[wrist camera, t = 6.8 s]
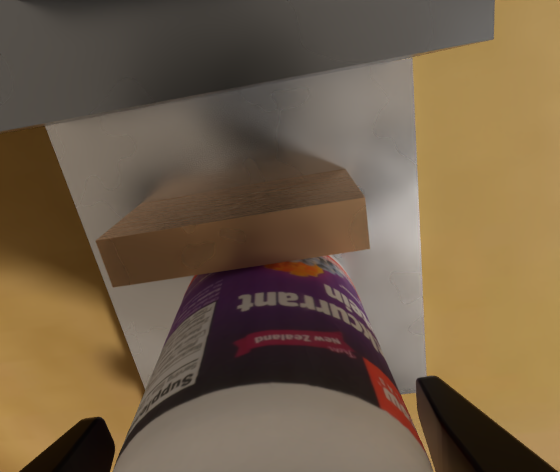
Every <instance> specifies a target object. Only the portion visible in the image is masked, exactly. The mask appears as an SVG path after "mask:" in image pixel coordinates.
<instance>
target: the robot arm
mask: <svg viewBox="0 0 560 472" xmlns="http://www.w3.org/2000/svg"><path fill="white" fill-rule="evenodd" d="M416 397H417V410H418V415H419V419H420V422H421V426H422V429H423V432H424V435H425V438H426V442H427V445H428V448H429V451H430V454H431V458H432V461H433V464H434V467H435V471H436V472H558V471H557V470H555V469H554V468H553V467H552V466H550V465H549V464H548V463H547V462H545V461H544V460H543V459H542V458H540V457H539V456H538V455H536V454H535V453H534V452H533V451H531V450H530V449H529V448H528V447H526V446H525V445H524V444H522V443H521V442H520V441H519V440H517V439H516V438H515V437H514V436H512V435H511V434H510V433H509V432H507V431H506V430H505V429H503V428H502V427H501V426H500V425H498V424H497V423H496V422H495V421H493V420H492V419H491V418H489V417H488V416H487V415H486V414H484V413H483V412H482V411H481V410H479V409H478V408H477V407H476V406H474V405H473V404H472V403H470V402H469V401H468V400H467V399H465V398H464V397H463V396H462V395H460V394H459V393H458V392H456V391H455V390H454V389H453V388H451V387H450V386H449V385H448V384H446V383H445V382H444V381H443V380H441V379H440V378H439V377H437V376H425V377H419V378H417V379H416ZM114 454H115V444H114V441H113V439H112V436H111V434H110V432H109V429H108V427H107V425H106V423H105V421H104V419H103V418H101V417H92V418H85V419H82V420H81V421H79V422H78V423H77V424H76V425H74V426H73V427H72V428H71V429H70V430H68V431H67V432H66V433H65V434H64V435H62V436H61V437H60V438H59V439H58V440H56V441H55V442H54V443H53V444H52V445H50V446H49V447H48V448H47V449H46V450H44V451H43V452H42V453H41V454H40V455H38V456H37V457H36V458H35V459H34V460H32V461H31V462H30V463H29V464H28V465H26V466H25V467H24V468H23V469H22V470H20V471H19V472H110V470H111V466H112V462H113V458H114Z"/></svg>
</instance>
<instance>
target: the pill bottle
mask: <svg viewBox="0 0 560 472" xmlns="http://www.w3.org/2000/svg"><path fill="white" fill-rule="evenodd" d="M113 472H433V470H432V466H431V463H430V461H429V458H428V456H427V454H426V451H425V449H424V447H423V444H422V442H421V440H420V438H419V436H418V433H417V431H416V428H415V426H414V424H413V422H412V420H411V417H410V415H409V413H408V410H407V408H406V406H405V404H404V401H403V399H402V397H401V394H400V392H399V390H398V387H397V385H396V383H395V380H394V378H393V376H392V373H391V371H390V369H389V366H388V364H387V362H386V360H385V357H384V355H383V353H382V350H381V348H380V345H379V343H378V341H377V338H376V336H375V333H374V331H373V329H372V327H371V324H370V322H369V319H368V317H367V315H366V313H365V310H364V308H363V305H362V303H361V300H360V298H359V296H358V294H357V291H356V289H355V287H354V285H353V283H352V281H351V279H350V278H349V276H348V274H347V272H346V271H345V270H344V268H343V267H342V265H341V264H340V263H339V262H338V261H337V260H336V259H335V258H334V257H333V256H332V255H327V256H320V257H314V258H307V259H300V260H294V261H287V262H280V263H274V264H267V265H260V266H254V267H247V268H240V269H234V270H227V271H220V272H214V273H207V274H200V275H194V276H193V278H192V280H191V282H190V284H189V286H188V288H187V290H186V292H185V295H184V297H183V300H182V302H181V305H180V307H179V310H178V312H177V314H176V317H175V319H174V322H173V324H172V326H171V329H170V331H169V334H168V336H167V338H166V341H165V343H164V346H163V348H162V351H161V354H160V356H159V358H158V361H157V363H156V365H155V368H154V370H153V373H152V376H151V378H150V381H149V383H148V386H147V388H146V390H145V393H144V395H143V397H142V400H141V403H140V405H139V408H138V410H137V413H136V415H135V417H134V420H133V422H132V425H131V427H130V429H129V431H128V433H127V436H126V439H125V441H124V444H123V446H122V449H121V451H120V453H119V456H118V458H117V461H116V464H115V467H114V470H113Z"/></svg>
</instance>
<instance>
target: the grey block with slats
mask: <svg viewBox="0 0 560 472" xmlns="http://www.w3.org/2000/svg"><path fill="white" fill-rule="evenodd" d="M494 4H495V0H0V134H1V133H7V132H13V131H18V130H24V129H30V128H36V127H42V126H45V127H46V130H47V133H48V135H49V138H50V140H51V143H52V146H53V148H54V151H55V154H56V156H57V159H58V161H59V164H60V167H61V169H62V172H63V175H64V177H65V180H66V183H67V185H68V188H69V190H70V193H71V196H72V198H73V201H74V204H75V206H76V209H77V211H78V214H79V217H80V219H81V222H82V225H83V227H84V230H85V232H86V235H87V238H88V240H89V243H90V246H91V248H92V251H93V254H94V256H95V259H96V261H97V264H98V267H99V269H100V272H101V275H102V277H103V280H104V282H105V285H106V288H107V290H108V293H109V296H110V298H111V301H112V304H113V306H114V309H115V311H116V314H117V317H118V319H119V322H120V325H121V327H122V330H123V332H124V335H125V338H126V340H127V343H128V346H129V348H130V351H131V353H132V356H133V359H134V361H135V364H136V367H137V369H138V372H139V375H140V377H141V380H142V382H143V385H144V388H145V390H146V388H147V386H148V383H149V381H150V378H151V376H152V373H153V370H154V368H155V365H156V363H157V361H158V358H159V356H160V354H161V351H162V348H163V346H164V343H165V341H166V338H167V336H168V334H169V331H170V329H171V326H172V324H173V322H174V319H175V317H176V314H177V312H178V310H179V307H180V305H181V302H182V300H183V297H184V295H185V292H186V290H187V288H188V286H189V284H190V282H191V280H192V278H193V276H194V275H200V274H207V273H214V272H220V271H227V270H234V269H240V268H247V267H254V266H260V265H267V264H274V263H280V262H287V261H294V260H300V259H307V258H314V257H320V256H327V255H332V256H333V257H334V258H335V259H336V260H337V261H338V262H339V263H340V264H341V265H342V267H343V268H344V270H345V271H346V272H347V274H348V276H349V278H350V279H351V281H352V283H353V285H354V287H355V289H356V291H357V294H358V296H359V298H360V300H361V303H362V305H363V308H364V310H365V313H366V315H367V317H368V319H369V322H370V324H371V327H372V329H373V331H374V333H375V336H376V338H377V341H378V343H379V345H380V348H381V350H382V353H383V355H384V357H385V360H386V362H387V364H388V366H389V369H390V371H391V373H392V376H393V378H394V380H395V383H396V385H397V387H398V390H399V392H400V394H408V393H416V379H417V378H419V377H425V376H426V355H425V333H424V310H423V288H422V265H421V243H420V221H419V198H418V176H417V153H416V131H415V108H414V86H413V64H412V58H411V57H415V56H420V55H424V54H429V53H433V52H438V51H442V50H447V49H452V48H456V47H461V46H465V45H470V44H474V43H479V42H483V41H488V40H493V39H494ZM406 58H408V59H406ZM401 59H403V60H401ZM397 60H398V61H397ZM59 123H60V124H59ZM48 125H49V126H48Z"/></svg>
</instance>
